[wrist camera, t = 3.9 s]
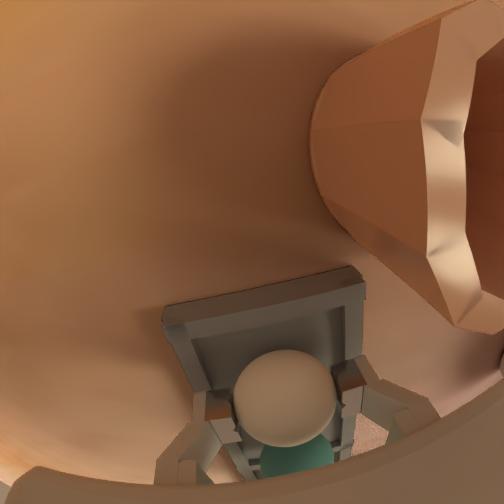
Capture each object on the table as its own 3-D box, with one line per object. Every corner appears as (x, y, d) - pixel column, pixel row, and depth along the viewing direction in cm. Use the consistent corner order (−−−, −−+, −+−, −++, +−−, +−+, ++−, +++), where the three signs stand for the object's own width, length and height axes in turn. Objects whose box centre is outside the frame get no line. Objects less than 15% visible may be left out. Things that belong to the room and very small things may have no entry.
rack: (165, 306, 12) (158, 327, 10) (352, 265, 12) (367, 281, 10) (252, 483, 18) (253, 497, 17) (344, 462, 19) (348, 475, 17)
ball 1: (317, 319, 11) (353, 389, 8) (322, 383, 13) (347, 447, 9) (220, 341, 11) (222, 420, 7) (241, 401, 13) (249, 470, 9)
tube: (455, 62, 9) (561, 50, 2) (469, 229, 12) (563, 282, 6) (287, 51, 8) (366, -45, 2) (323, 268, 12) (405, 382, 5)
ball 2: (323, 406, 13) (344, 465, 10) (324, 440, 15) (340, 490, 11) (249, 422, 13) (257, 485, 10) (262, 453, 15) (270, 506, 11)
